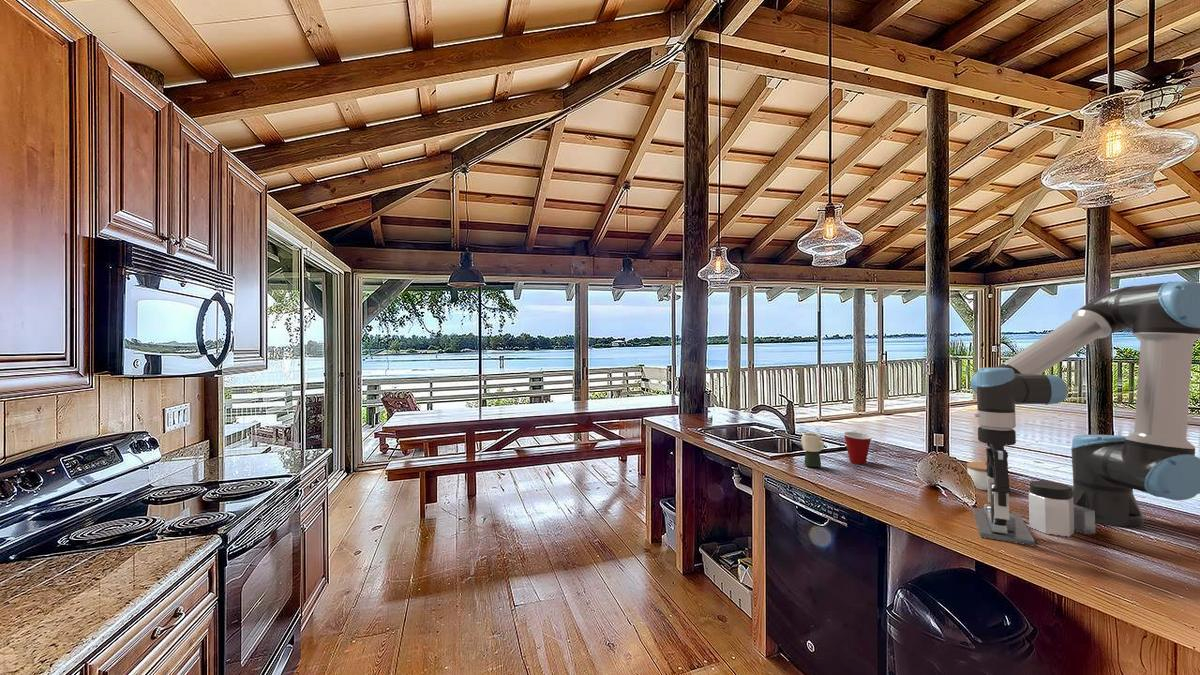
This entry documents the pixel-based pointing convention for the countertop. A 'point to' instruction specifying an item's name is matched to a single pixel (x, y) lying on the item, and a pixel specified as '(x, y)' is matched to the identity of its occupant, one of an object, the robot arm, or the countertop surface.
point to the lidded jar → (978, 474)
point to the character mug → (812, 448)
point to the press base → (1017, 536)
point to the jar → (1051, 508)
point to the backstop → (1084, 520)
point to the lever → (997, 523)
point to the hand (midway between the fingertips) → (998, 510)
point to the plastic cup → (857, 446)
